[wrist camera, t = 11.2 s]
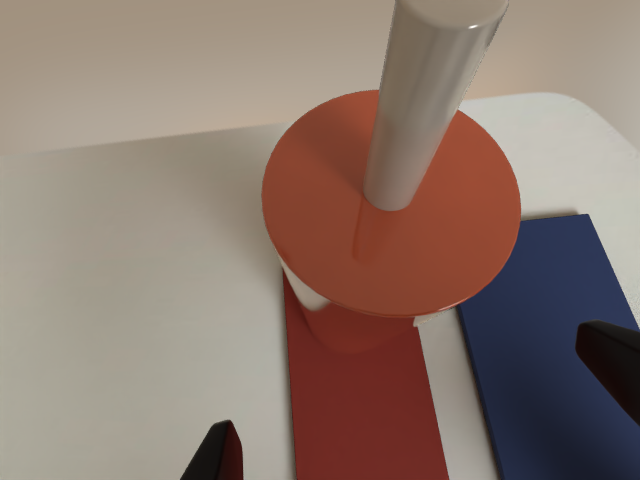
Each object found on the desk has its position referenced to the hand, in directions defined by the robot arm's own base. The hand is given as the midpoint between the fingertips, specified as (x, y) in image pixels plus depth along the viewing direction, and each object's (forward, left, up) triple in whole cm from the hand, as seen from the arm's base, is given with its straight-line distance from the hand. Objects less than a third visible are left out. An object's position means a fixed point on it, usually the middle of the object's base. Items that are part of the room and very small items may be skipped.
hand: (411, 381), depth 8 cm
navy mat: (-2, -10, -10) cm, 14 cm away
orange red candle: (+4, +1, -9) cm, 10 cm away
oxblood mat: (0, +1, -10) cm, 10 cm away
